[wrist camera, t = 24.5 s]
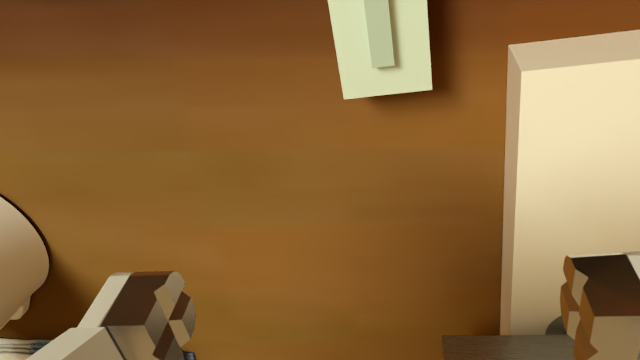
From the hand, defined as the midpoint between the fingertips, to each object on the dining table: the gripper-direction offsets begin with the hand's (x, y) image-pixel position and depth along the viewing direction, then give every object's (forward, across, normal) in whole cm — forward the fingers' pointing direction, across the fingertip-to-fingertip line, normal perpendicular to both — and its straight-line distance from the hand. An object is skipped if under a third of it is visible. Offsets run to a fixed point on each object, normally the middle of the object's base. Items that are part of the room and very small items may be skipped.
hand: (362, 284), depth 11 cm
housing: (+23, -12, +18) cm, 32 cm away
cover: (+23, 0, 0) cm, 23 cm away
